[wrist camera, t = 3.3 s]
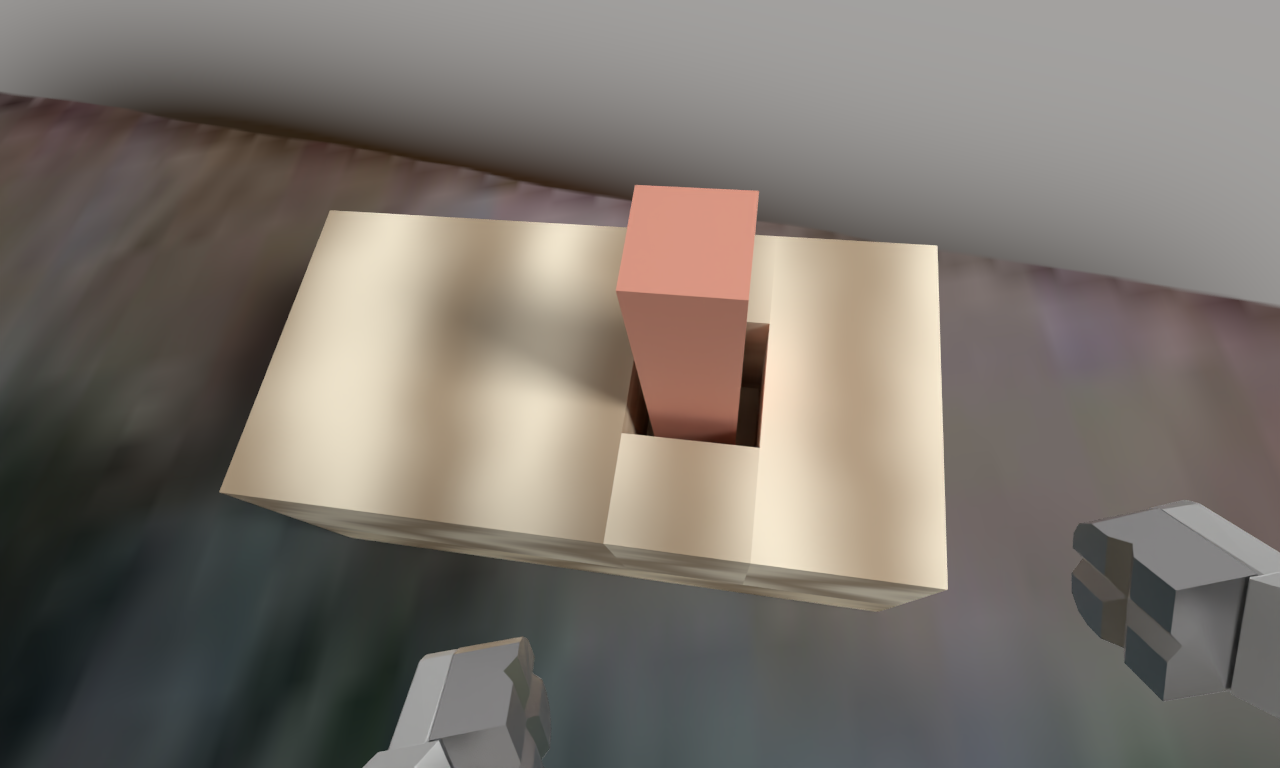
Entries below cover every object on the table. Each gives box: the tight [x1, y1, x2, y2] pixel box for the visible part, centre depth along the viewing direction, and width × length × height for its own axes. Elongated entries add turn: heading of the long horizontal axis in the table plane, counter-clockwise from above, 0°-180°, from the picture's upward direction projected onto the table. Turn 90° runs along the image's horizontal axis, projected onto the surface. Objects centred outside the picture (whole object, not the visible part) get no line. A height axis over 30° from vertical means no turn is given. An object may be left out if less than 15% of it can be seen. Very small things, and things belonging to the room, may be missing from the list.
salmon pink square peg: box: [616, 185, 759, 445], centre depth 22 cm, size 3×3×14 cm
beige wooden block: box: [219, 210, 948, 612], centre depth 27 cm, size 24×12×9 cm, turn 82°
